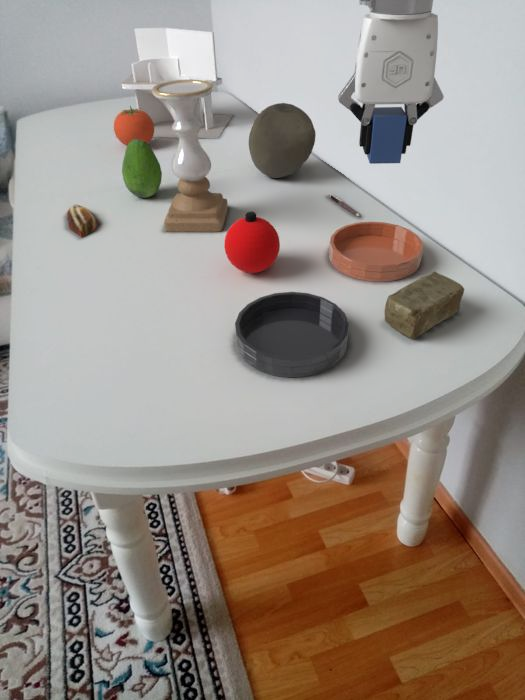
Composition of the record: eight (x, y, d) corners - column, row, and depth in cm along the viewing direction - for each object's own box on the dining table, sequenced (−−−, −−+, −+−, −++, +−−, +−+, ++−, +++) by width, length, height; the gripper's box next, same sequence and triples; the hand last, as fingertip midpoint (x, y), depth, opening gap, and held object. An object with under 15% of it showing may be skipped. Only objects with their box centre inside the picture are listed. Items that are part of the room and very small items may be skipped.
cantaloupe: (266, 192, 111) (264, 118, 101) (241, 170, 121) (237, 101, 111) (324, 180, 115) (327, 108, 106) (295, 160, 125) (296, 93, 116)
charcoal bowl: (369, 340, 71) (372, 323, 69) (291, 395, 64) (291, 377, 62) (291, 296, 80) (291, 280, 78) (214, 340, 72) (212, 323, 70)
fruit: (156, 204, 108) (146, 146, 100) (121, 202, 109) (108, 144, 102) (170, 189, 114) (161, 133, 106) (136, 187, 115) (125, 131, 107)
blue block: (395, 152, 78) (401, 106, 74) (400, 163, 75) (407, 115, 71) (366, 153, 78) (370, 107, 74) (369, 163, 75) (374, 116, 71)
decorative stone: (56, 211, 107) (54, 203, 105) (83, 205, 109) (80, 197, 108) (76, 238, 97) (74, 230, 96) (105, 231, 99) (103, 222, 98)
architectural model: (118, 136, 143) (99, 39, 128) (142, 114, 159) (127, 25, 144) (218, 138, 140) (209, 38, 125) (232, 115, 156) (226, 24, 141)
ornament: (290, 265, 87) (291, 209, 81) (257, 289, 82) (255, 231, 76) (249, 250, 92) (246, 196, 85) (215, 272, 86) (209, 216, 80)
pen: (327, 197, 108) (327, 192, 108) (330, 196, 109) (331, 192, 108) (358, 218, 100) (358, 213, 100) (361, 217, 101) (361, 212, 100)
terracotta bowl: (438, 257, 88) (441, 241, 86) (382, 292, 80) (385, 276, 78) (367, 228, 97) (368, 213, 95) (311, 258, 89) (311, 242, 87)
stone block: (379, 324, 74) (383, 295, 71) (429, 295, 79) (435, 266, 76) (412, 344, 70) (418, 314, 67) (462, 311, 76) (470, 282, 73)
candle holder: (228, 207, 106) (218, 77, 91) (221, 231, 97) (209, 94, 82) (175, 207, 107) (157, 79, 91) (164, 231, 98) (142, 95, 83)
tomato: (111, 146, 137) (102, 105, 131) (146, 137, 142) (139, 98, 135) (128, 156, 131) (119, 114, 124) (164, 147, 135) (158, 106, 129)
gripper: (335, 7, 62) (327, 161, 74) (479, 3, 61) (448, 159, 73) (331, 0, 68) (324, 143, 79) (462, -4, 67) (436, 141, 78)
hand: (383, 149), depth 76 cm, fingers closed on blue block, 4 cm apart
